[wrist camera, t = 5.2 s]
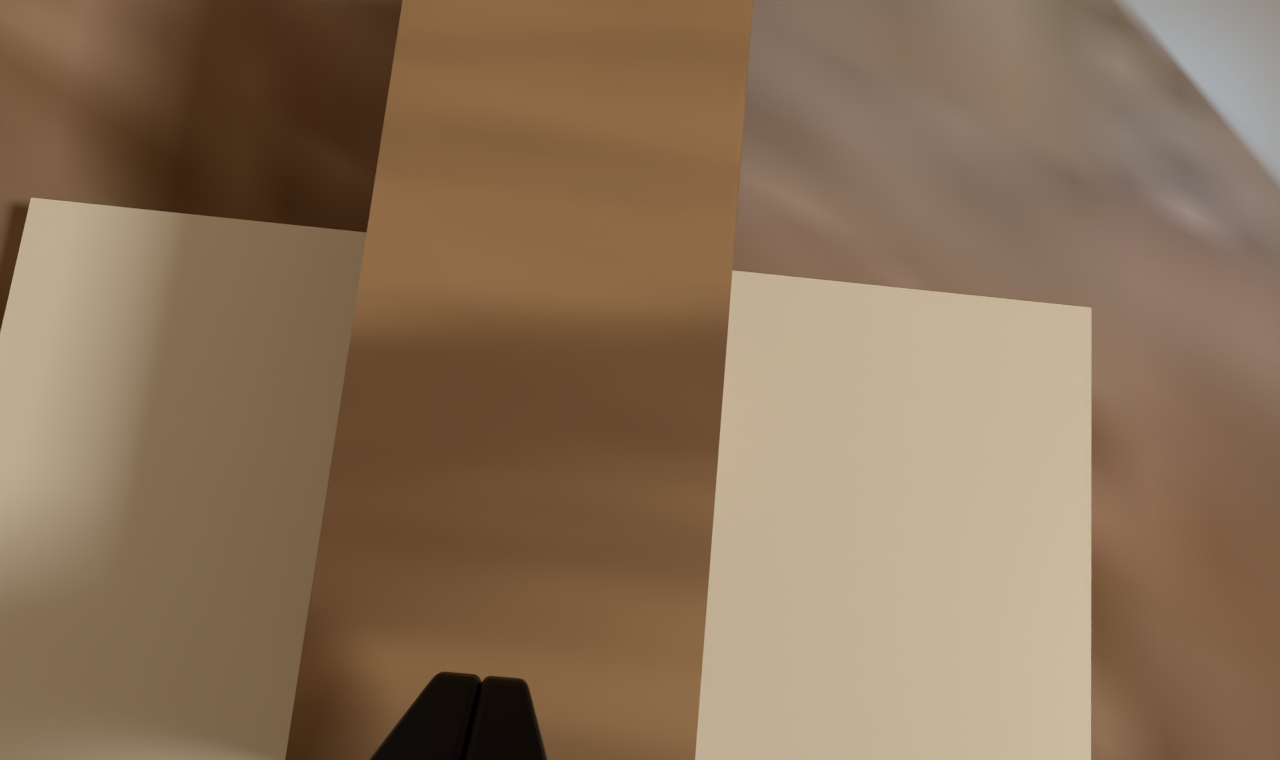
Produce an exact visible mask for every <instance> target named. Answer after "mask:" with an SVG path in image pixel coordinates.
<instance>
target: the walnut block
mask: <svg viewBox="0 0 1280 760" xmlns="http://www.w3.org/2000/svg"><path fill="white" fill-rule="evenodd" d="M752 8H753V0H403V1H402V7H401V14H400V20H399V27H398V33H397V40H396V46H395V52H394V59H393V65H392V72H391V78H390V85H389V91H388V98H387V104H386V111H385V117H384V124H383V130H382V137H381V143H380V149H379V156H378V162H377V169H376V175H375V182H374V188H373V195H372V201H371V208H370V214H369V221H368V227H367V234H366V240H365V246H364V253H363V259H362V266H361V272H360V279H359V285H358V292H357V298H356V305H355V311H354V318H353V324H352V331H351V337H350V343H349V350H348V356H347V363H346V369H345V376H344V382H343V389H342V395H341V402H340V408H339V415H338V421H337V428H336V434H335V440H334V447H333V453H332V460H331V466H330V473H329V479H328V486H327V492H326V499H325V505H324V512H323V518H322V525H321V531H320V537H319V544H318V550H317V557H316V563H315V570H314V576H313V583H312V589H311V596H310V602H309V609H308V615H307V622H306V628H305V634H304V641H303V647H302V654H301V660H300V667H299V673H298V680H297V686H296V693H295V699H294V706H293V712H292V719H291V725H290V731H289V738H288V744H287V751H286V757H285V760H369V759H370V758H371V756H372V755H373V754H374V753H375V751H376V750H377V749H378V747H379V746H380V745H381V743H382V742H383V741H384V740H385V738H386V737H387V736H388V734H389V733H390V732H391V731H392V729H393V728H394V727H395V725H396V724H397V723H398V722H399V720H400V719H401V718H402V716H403V715H404V714H405V713H406V711H407V710H408V709H409V707H410V706H411V705H412V704H413V702H414V701H415V700H416V698H417V697H418V696H419V694H420V693H421V692H422V691H423V689H424V688H425V687H426V685H427V684H428V683H429V682H430V680H431V679H432V678H433V677H434V676H435V675H436V674H438V673H440V672H456V673H467V674H475V675H478V676H479V677H480V678H481V681H483V680H484V678H486V677H488V676H501V677H512V678H521V679H523V680H525V681H526V682H527V684H528V686H529V689H530V693H531V697H532V701H533V705H534V709H535V712H536V716H537V720H538V724H539V728H540V732H541V736H542V739H543V743H544V747H545V751H546V755H547V759H548V760H695V754H696V741H697V728H698V715H699V702H700V688H701V675H702V662H703V649H704V636H705V623H706V610H707V597H708V584H709V571H710V558H711V544H712V531H713V518H714V505H715V492H716V479H717V466H718V453H719V440H720V427H721V414H722V400H723V387H724V374H725V361H726V348H727V335H728V322H729V309H730V296H731V283H732V270H733V256H734V243H735V230H736V217H737V204H738V191H739V178H740V165H741V152H742V139H743V126H744V112H745V99H746V86H747V73H748V60H749V47H750V34H751V21H752Z"/></svg>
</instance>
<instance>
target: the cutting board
mask: <svg viewBox="0 0 1280 760" xmlns="http://www.w3.org/2000/svg"><path fill="white" fill-rule="evenodd" d="M366 234H367V233H366V232H357V231H347V230H338V229H328V228H318V227H309V226H299V225H289V224H280V223H270V222H261V221H251V220H241V219H232V218H222V217H212V216H203V215H193V214H184V213H174V212H164V211H155V210H145V209H135V208H126V207H116V206H107V205H97V204H87V203H78V202H68V201H58V200H49V199H39V198H31V200H30V204H29V209H28V213H27V217H26V222H25V226H24V231H23V235H22V239H21V244H20V248H19V253H18V257H17V261H16V266H15V270H14V274H13V279H12V283H11V288H10V292H9V296H8V301H7V305H6V310H5V314H4V318H3V323H2V327H1V332H0V760H285V757H286V751H287V744H288V738H289V731H290V725H291V719H292V712H293V706H294V699H295V693H296V686H297V680H298V673H299V667H300V660H301V654H302V647H303V641H304V634H305V628H306V622H307V615H308V609H309V602H310V596H311V589H312V583H313V576H314V570H315V563H316V557H317V550H318V544H319V537H320V531H321V525H322V518H323V512H324V505H325V499H326V492H327V486H328V479H329V473H330V466H331V460H332V453H333V447H334V440H335V434H336V428H337V421H338V415H339V408H340V402H341V395H342V389H343V382H344V376H345V369H346V363H347V356H348V350H349V343H350V337H351V331H352V324H353V318H354V311H355V305H356V298H357V292H358V285H359V279H360V272H361V266H362V259H363V253H364V246H365V240H366ZM695 760H1091V308H1088V307H1079V306H1069V305H1059V304H1050V303H1040V302H1031V301H1021V300H1011V299H1002V298H992V297H982V296H973V295H963V294H954V293H944V292H934V291H925V290H915V289H905V288H896V287H886V286H877V285H867V284H857V283H848V282H838V281H828V280H819V279H809V278H800V277H790V276H780V275H771V274H761V273H751V272H742V271H732V283H731V296H730V309H729V322H728V335H727V348H726V361H725V374H724V387H723V400H722V414H721V427H720V440H719V453H718V466H717V479H716V492H715V505H714V518H713V531H712V544H711V558H710V571H709V584H708V597H707V610H706V623H705V636H704V649H703V662H702V675H701V688H700V702H699V715H698V728H697V741H696V754H695Z"/></svg>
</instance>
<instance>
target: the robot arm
mask: <svg viewBox="0 0 1280 760" xmlns="http://www.w3.org/2000/svg"><path fill="white" fill-rule="evenodd" d="M369 760H548V759H547V755H546V751H545V747H544V743H543V739H542V736H541V732H540V728H539V724H538V720H537V716H536V712H535V709H534V705H533V701H532V697H531V693H530V689H529V686H528V684H527V682H526V681H525V680H523V679H521V678H512V677H501V676H488V677H486V678H484V680H483V681H481V678H480V677H479V676H478V675H475V674H467V673H456V672H440V673H438V674H436V675H435V676H434V677H433V678H432V679H431V680H430V682H429V683H428V684H427V685H426V687H425V688H424V689H423V691H422V692H421V693H420V694H419V696H418V697H417V698H416V700H415V701H414V702H413V704H412V705H411V706H410V707H409V709H408V710H407V711H406V713H405V714H404V715H403V716H402V718H401V719H400V720H399V722H398V723H397V724H396V725H395V727H394V728H393V729H392V731H391V732H390V733H389V734H388V736H387V737H386V738H385V740H384V741H383V742H382V743H381V745H380V746H379V747H378V749H377V750H376V751H375V753H374V754H373V755H372V756H371V758H370V759H369Z"/></svg>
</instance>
